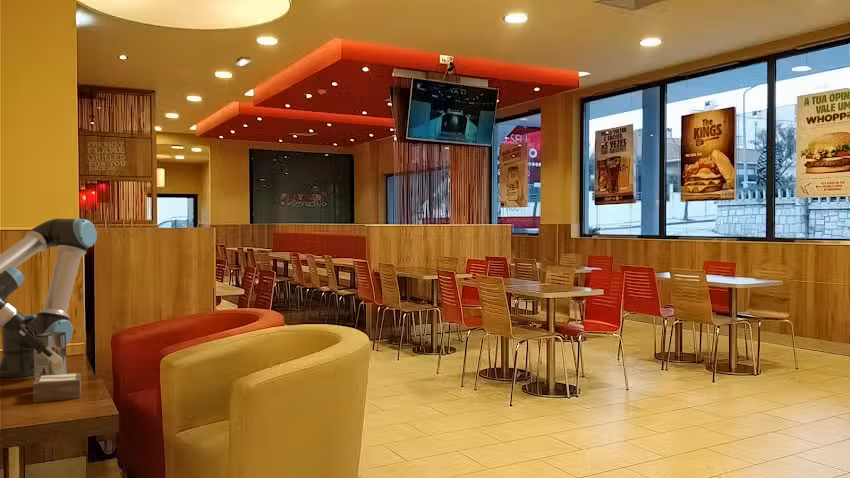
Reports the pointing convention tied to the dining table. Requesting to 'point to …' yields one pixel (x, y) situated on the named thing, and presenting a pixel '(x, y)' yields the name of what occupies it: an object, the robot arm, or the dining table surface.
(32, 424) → the dining table surface
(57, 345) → the coffee box
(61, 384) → the pedestal
